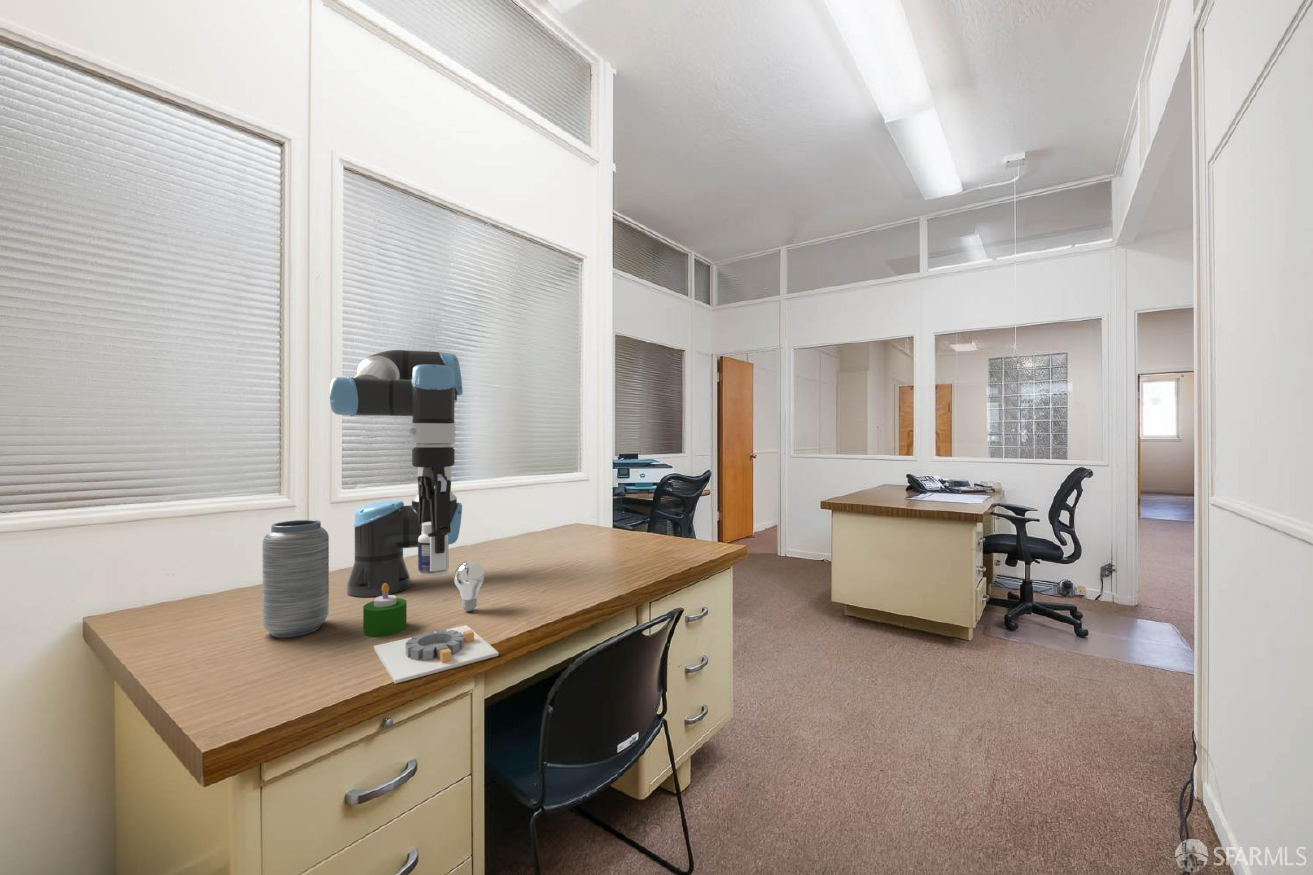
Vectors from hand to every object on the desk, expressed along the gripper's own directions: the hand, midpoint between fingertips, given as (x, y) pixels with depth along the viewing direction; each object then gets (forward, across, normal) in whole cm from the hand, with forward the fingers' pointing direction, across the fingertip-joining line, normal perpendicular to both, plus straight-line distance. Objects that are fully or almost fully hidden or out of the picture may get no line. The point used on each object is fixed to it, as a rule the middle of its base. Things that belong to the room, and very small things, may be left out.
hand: (433, 566), depth 100 cm
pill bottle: (+2, 0, 0) cm, 2 cm away
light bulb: (+17, -19, +13) cm, 29 cm away
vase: (+17, -30, -20) cm, 40 cm away
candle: (+17, -19, -5) cm, 26 cm away
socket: (+17, 0, 0) cm, 17 cm away
